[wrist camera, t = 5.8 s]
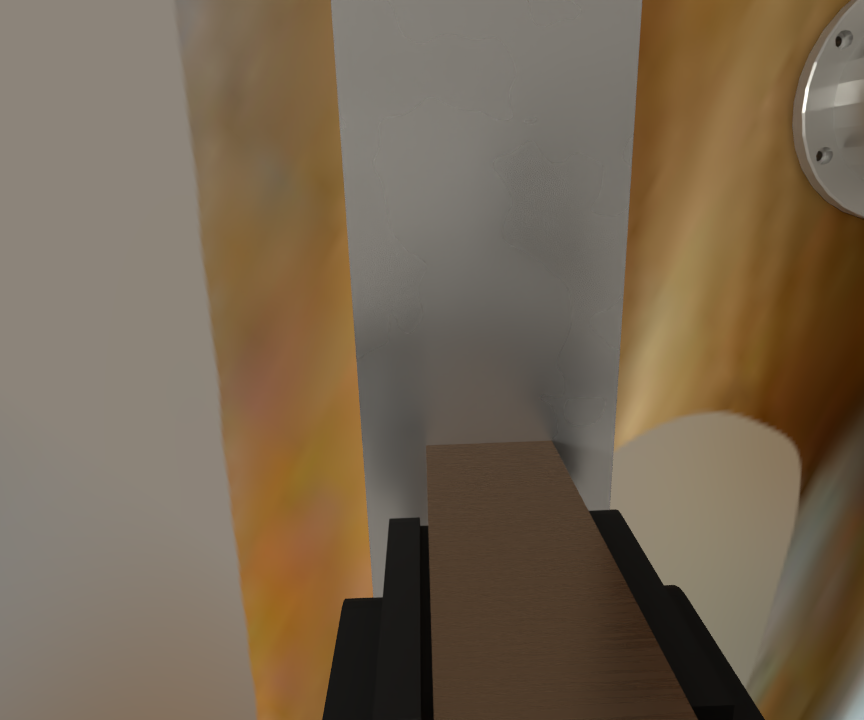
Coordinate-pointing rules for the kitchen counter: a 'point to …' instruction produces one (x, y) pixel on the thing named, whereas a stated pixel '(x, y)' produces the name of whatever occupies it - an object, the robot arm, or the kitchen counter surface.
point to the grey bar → (498, 337)
